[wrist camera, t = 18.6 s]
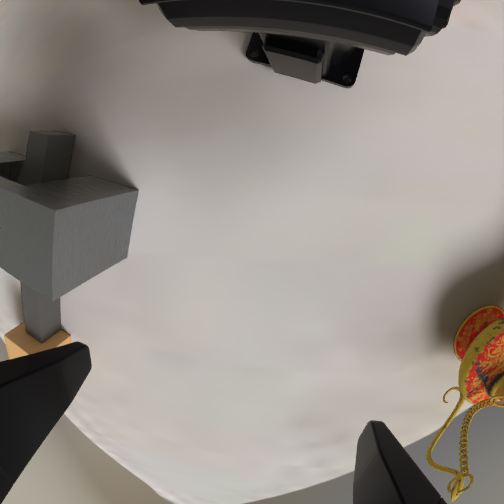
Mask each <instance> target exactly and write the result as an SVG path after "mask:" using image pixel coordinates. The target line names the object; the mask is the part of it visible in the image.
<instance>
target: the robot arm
mask: <svg viewBox="0 0 504 504" xmlns="http://www.w3.org/2000/svg"><path fill="white" fill-rule="evenodd" d="M460 1H461V0H139V2H140V3H141V4H142V5H146V4H153V3H156V4H157V6H158V7H159V9H160V11H161V12H162V14H163V15H164V16H165V18H166V19H167V20H168V21H169V22H171V23H172V24H173V25H174V26H175V27H186V28H188V29H192V30H198V31H241V32H253V34H252V37H251V40H250V43H249V45H248V48H247V51H246V56H247V58H248V59H249V60H250V61H251V62H253V63H258V64H262V65H267V66H271V67H272V68H273V70H274V72H275V73H279V74H283V75H287V76H290V77H294V78H298V79H301V80H305V81H308V82H312V83H315V84H316V83H318V82H321V80H322V81H325V82H329V83H332V84H335V85H338V86H341V87H344V88H351V87H352V86H353V85H354V83H355V81H356V77H357V74H358V70H359V67H360V63H361V60H362V56H363V53H364V49H366V50H370V51H374V52H378V53H382V54H386V55H393V54H395V53H398V54H402V55H405V56H406V55H408V54H410V53H412V52H413V51H415V49H416V48H417V47H418V46H419V44H420V43H421V41H422V40H423V38H424V37H425V36H433V35H435V34H437V33H438V32H439V31H440V30H441V29H442V28H445V27H446V26H447V24H448V21H449V17H450V14H451V11H452V8H453V6H455V5H457V4H459V3H460ZM253 52H258V53H259V54H258V56H256V57H252V56H251V55H252V53H253ZM345 76H347V77H349V78H350V80H351V81H350V82H349V83H346V82H344V81H343V77H345ZM91 365H92V364H91V358H90V351H89V347H88V346H87V345H85V344H83V343H81V342H73V343H70V344H66V345H63V346H59V347H55V348H52V349H48V350H44V351H40V352H37V353H33V354H29V355H25V356H21V357H17V358H13V359H10V360H6V361H2V362H0V504H1V503H2V502H3V500H4V498H5V497H6V495H7V494H8V492H9V491H10V489H11V488H12V486H13V484H14V483H15V482H16V480H17V479H18V477H19V476H20V474H21V472H22V471H23V470H24V468H25V466H26V465H27V464H28V462H29V461H30V460H31V458H32V456H33V455H34V454H35V452H36V451H37V449H38V448H39V447H40V445H41V444H42V442H43V441H44V440H45V438H46V437H47V435H48V434H49V433H50V431H51V430H52V429H53V427H54V426H55V424H56V423H57V422H58V420H59V419H60V417H61V416H62V415H63V414H64V412H65V411H66V409H67V408H68V407H69V405H70V404H71V402H72V401H73V399H74V398H75V396H76V394H77V392H78V391H79V389H80V387H81V386H82V384H83V382H84V380H85V379H86V377H87V375H88V374H89V372H90V370H91ZM353 504H447V503H446V502H445V501H444V499H443V498H441V495H440V494H439V493H438V492H437V490H436V489H435V488H434V487H433V485H432V484H431V483H430V481H429V480H428V479H427V478H426V476H425V475H424V474H423V473H422V471H421V470H420V469H419V467H418V466H417V465H416V463H415V462H414V461H413V460H412V458H411V457H410V456H409V454H408V453H407V452H406V451H405V449H404V448H403V447H402V445H401V444H400V443H399V442H398V440H397V439H396V438H395V436H394V435H393V434H392V433H391V431H390V430H389V429H388V428H387V426H386V425H385V424H384V423H383V422H382V421H373V420H372V421H369V422H368V423H367V425H366V427H365V429H364V430H363V432H362V434H361V435H360V437H359V439H358V444H357V454H356V464H355V473H354V482H353Z"/></svg>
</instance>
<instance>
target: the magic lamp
mask: <svg viewBox="0 0 504 504" xmlns="http://www.w3.org/2000/svg"><path fill="white" fill-rule="evenodd" d="M454 351H455V355H456V356H457V358H458V359H459V360H460V361H462V362H461V366H460V370H459V387H453V388H451V389H449V390H448V391H447V392H446V393H445V394H444V396H443V401H444V402H445V403H448V402H446V401H445V396H446V394H447V393H448V392H449V391H451V390H458V391H459V392H460V399H459V401H458V403H457V405H456V407H455V409H454V410H453V412H452V413H451V415H450V416H449V418H448V419H447V421H446V422H445V424H444V425H443V427H442V428H441V430H440V431H439V432H438V434H437V435H436V437H435V438H434V440H433V441H432V443H431V445H430V447H429V448H428V451H427V455H426V458H427V462H428V463H429V465H430V466H431V467H433V468H435V469H437V470H440V471H443V472H447V473H450V474H453V475H455V476H456V477H455V478H453V479H452V480H451V481H450V482H449V485H448V487H447V490H448V492H450V493H451V502H453V501H454V500H455V499H456V498H457V497H458V496H459V495H460V494H461V493H462V492H464V491H466V490H467V489H468V488H469V487H470V486H471V485H472V484H473V481H474V477H473V476H472V475H471V474H468V473H469V468H468V456H467V453H468V452H467V438H468V429H469V425H470V422H471V419H472V417H473V416H474V414H476V412H478V410H481V408H482V409H483V408H484V407H488V406H493V405H496V406H499V407H504V404H498V403H496V402H498V401H503V402H504V311H503V310H502V309H501V308H499V307H497V306H493V305H489V306H484V307H482V308H479V309H477V310H476V311H474V312H473V313H472V314H470V315H469V316H468V317H467V318H466V319H465V320H464V322H463V323H462V325H461V326H460V328H459V330H458V331H457V334H456V337H455V341H454ZM465 399H466V400H467V401H468V402H470V403H472V404H474V405H473V407H472V408H470V410H469V411H468V412H467V414H466V415H465V418H464V420H463V423H462V427H461V432H460V434H461V436H460V440H461V441H460V442H459V444H460V447H459V449H460V453H459V454H460V462H461V463H460V468H461V471H460V472H459V471H457V470H454V469H451V468H447V467H443V466H440V465H438V464H436V463H435V462H433V460H432V459H431V453H432V450H433V448H434V446H435V444H436V442H437V441H438V439H439V438H440V437H441V435H442V434H443V432H444V431H445V429H446V428H447V427H448V425H449V424H450V422H451V421H452V419H453V418H454V417H455V415H456V414H457V412H458V411H459V409H460V408H461V406H462V405H463V403H464V400H465ZM477 405H478V406H479V407H480V408H479V409H478V406H477ZM481 406H483V407H481ZM474 407H475V409H477V410H475V409H474ZM476 407H477V408H476ZM471 410H472V411H474V413H473V412H472V411H471ZM469 412H470V414H472V416H471V415H470V414H469ZM467 416H468V417H469V418H467ZM465 419H466V420H467V421H465ZM468 419H469V420H468ZM468 421H469V422H468ZM464 423H465V424H468V425H464ZM463 428H465V429H464V430H463ZM466 428H467V429H466ZM462 432H463V433H466V434H462ZM462 437H464V438H465V437H466V438H465V439H462ZM463 440H465V441H463ZM461 442H463V443H465V442H466V443H465V444H461ZM461 447H462V448H465V447H466V448H465V449H463V450H462V449H461ZM461 452H462V453H465V452H466V454H464V455H461ZM465 458H466V460H464V461H462V459H465ZM462 465H466V466H465V467H463V468H462ZM466 470H467V473H465V474H463V473H462V471H464V472H465V471H466ZM467 476H469V477H470V478H471V482H470V484H469V485H468V486H467V487H466V488H464V489H463V486H464V478H466V477H467ZM454 480H455V482H454V485H453V488H452V490H451V489H450V485H451V483H452V482H453V481H454ZM462 489H463V490H462Z"/></svg>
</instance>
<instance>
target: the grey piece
mask: <svg viewBox="0 0 504 504" xmlns="http://www.w3.org/2000/svg"><path fill="white" fill-rule="evenodd" d="M25 159H26V156H23V155H19V154H16V153H12V152H1V153H0V267H1V268H2V269H4V270H5V271H6V272H8V273H9V274H11V275H12V276H14V277H15V278H17V279H18V280H20V281H21V282H23V283H24V284H26V285H27V286H29V287H30V288H32V289H33V290H35V291H36V292H38V293H40V294H41V295H43V296H44V297H46V298H48V299H49V300H51V301H52V302H53V301H55V300H56V299H58V298H59V297H61V296H63V295H64V294H66V293H67V292H69V291H71V290H72V289H74V288H76V287H77V286H79V285H81V284H82V283H84V282H86V281H87V280H89V279H91V278H92V277H94V276H96V275H98V274H99V273H101V272H103V271H104V270H106V269H108V268H110V267H111V266H113V265H115V264H116V263H118V262H120V261H122V260H123V259H125V258H127V254H128V247H129V241H130V235H131V229H132V223H133V217H134V211H135V206H136V201H137V196H138V191H139V190H136V189H133V188H129V187H126V186H123V185H120V184H117V183H113V182H110V181H107V180H104V179H100V178H97V177H94V176H90V175H89V176H82V177H75V178H68V179H62V180H56V181H50V182H44V183H38V184H33V185H27V186H24V185H23V175H24V166H25Z"/></svg>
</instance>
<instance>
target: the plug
mask: <svg viewBox="0 0 504 504" xmlns="http://www.w3.org/2000/svg"><path fill="white" fill-rule="evenodd" d="M75 136H76V135H73V134H68V133H63V132H58V131H30V134H29V139H28V145H27V152H26V159H25V166H24V175H23V185H24V186H27V185H33V184H38V183H44V182H50V181H56V180H62V179H68V174H69V168H70V162H71V156H72V151H73V146H74V141H75ZM21 292H22V304H23V314H24V322H23V323H22V324H20V325H18V326H17V327H15V328H14V329H12V330H11V331H9V332H8V333H6V334H5V335H4V337H5V342H6V346H7V351H8V355H9V360H10V359H13V358H17V357H21V356H25V355H29V354H33V353H37V352H40V351H44V350H48V349H52V348H55V347H59V346H63V345H66V344H70V343H71V335H69V334H68V333H66V332H65V331H63V330H61V313H60V297H59V298H58V299H56V300H55V301H53V302H52V301H51V300H49V299H48V298H46V297H44V296H43V295H41V294H40V293H38V292H36V291H35V290H33V289H32V288H30V287H29V286H27V285H26V284H24V283H23V282H21Z"/></svg>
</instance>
